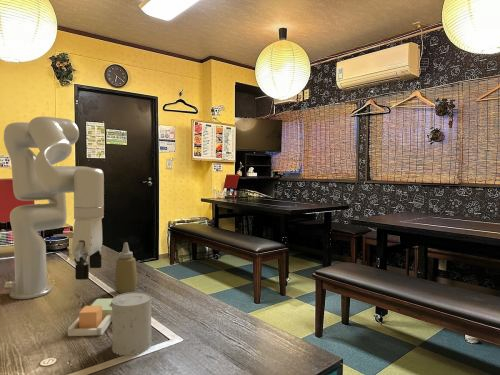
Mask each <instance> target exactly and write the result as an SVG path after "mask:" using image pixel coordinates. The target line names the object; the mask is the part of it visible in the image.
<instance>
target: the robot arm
mask: <svg viewBox="0 0 500 375" xmlns="http://www.w3.org/2000/svg"><path fill="white" fill-rule="evenodd" d="M79 138H80V130H79V127H78V125H77V123H75V121H73V120H71V119H68V118H61V117H52V116H36V117H34V118H32V119H31V120H30V121H29V122H22V121H21V122H19V121H18V122H11V123H9V124H6V126H5V128H4V130H3V143H4V146H5V150H6V151H7V154H8V156H9V160H10V163H11V164H10V165H11V175H12V176H11V177H12V179H11V180H12V189H13V195H14V197H15V198H16V199H17V200H19V201H23V202H25V201H26V202H29V201H31V202H32V201H33V202H34V201H48V203H37V204H36V203H35V204H24V205H19V206H16V207H14V208H13V209H12V210H11V211H10V213H9V222H10V226H11V231H12V236H13V237H12V238H13V252H14V253H13V255H14V256H13V257H14V260H13V262H14V281H6V282H5V283H4V285H3V288H4V289H5V290H8V289H11V291H10V293H9V297H10V298H11V299H15V300H29V299H35V298H39V297H42V296H45V295H48V294H49V293H51V292H52V291H53V290H52V289H53V287H52V285H50V284H48V283H47V281H48V278H47V274H48V273H47V245H46V241H45V239H44V238H43V237H42V236H41V235H40V234H39V232H42V231H47V230H55V229H56V230H57V229H60V228H62V227H64V226H65V224H66V223H67V218H68V216H67V213H68V212H67V199H66V194H67V193H73V219H74V224H73V229H72V230H73V232H72V246H71V253H72V254H71V255H72V256H74V258H73V259H74V265H75V266H74V267H75V280H82V281H83V280H85V281H87V280H89V277H90V276H89V274H90V271H89V270H90V269H101V268H102V253H103V251H102V246H103V222H102V221H103V220H102V219H103V218H104V217H105V216H104V215H105V212H104V211H105V203H104V202H105V199H104V198H105V196H104V195H105V184H104V183H105V178H104V177H105V175H104V171H103V169H101V168H98V167H97V168H96V167H89V166H76V165H70V166H69V165H66V166H65V165H56V164H58V163H59V164H60V163H61V162H63V161H65V160H66V159H68V157H69V156H71V154H72V150H73V147H72V146H73V145H75V144H76V143H77V141H79ZM32 149H38V150H39V152H38V153H37V155H36V153H35V152H34V151H33V150H32ZM88 262H89V263H88Z"/></svg>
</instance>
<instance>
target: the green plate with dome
mask: <svg viewBox="0 0 500 375" xmlns="http://www.w3.org/2000/svg"><path fill="white" fill-rule="evenodd" d="M112 299H113V298H97V299H95V300H94V301H93V302H92V303H91V305H90V306H102V322H101V323H100V325H99V326H98V327H97V328H84V329H79V316H77V319H76V320H74V322H72V324H71V325H69V326H68V328H67V336H68V337H77V336H79V337H80V336H82V337H83V336H85V337H87V336H103V335H104V333H105V331H106V330H107V329H108V327H109V326H110V324H112Z"/></svg>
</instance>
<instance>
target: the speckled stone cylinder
mask: <svg viewBox="0 0 500 375" xmlns="http://www.w3.org/2000/svg"><path fill="white" fill-rule="evenodd" d="M111 299H112V321H111V324H112V325H111V328H112V329H111V332H112V337H111V338H112V339H111V340H112V344H111V345H112V347H111V350H112V352H113V353H114V354H115V353H116V354H115V355H118V354H119V355H118V356H122V355H131V356H133V355H132V354H136V355H138V354H137V353H139V354H141V352H142V353H144V352H146V351H147V350H149V349H150V348H151V346H152V343H153V342H152V294H150V293H148V292H145V291H144V292H143V291H134V292H128V293H123V294H120V293H119V294H117V295H116V296H114V297H113V298H111ZM145 350H146V351H145ZM143 351H144V352H143Z"/></svg>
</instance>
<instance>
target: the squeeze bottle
mask: <svg viewBox="0 0 500 375" xmlns="http://www.w3.org/2000/svg"><path fill="white" fill-rule="evenodd" d="M118 257H119V258H117V259H116V261H115V262H116V264H115V271H114V274H115V275H114V287H115V288H116V290H117V291H116V292H117V293H118V294H119V295H120V294H123V293H128V292H136V291H135V290H136V288H137V285H138V281H139V280H138V274H137V273H138V271H137V262H136V258H135V257H134V255H133V251H130V246H129V244H128V242H123V247H122V251H121V252H119V253H118Z"/></svg>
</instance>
